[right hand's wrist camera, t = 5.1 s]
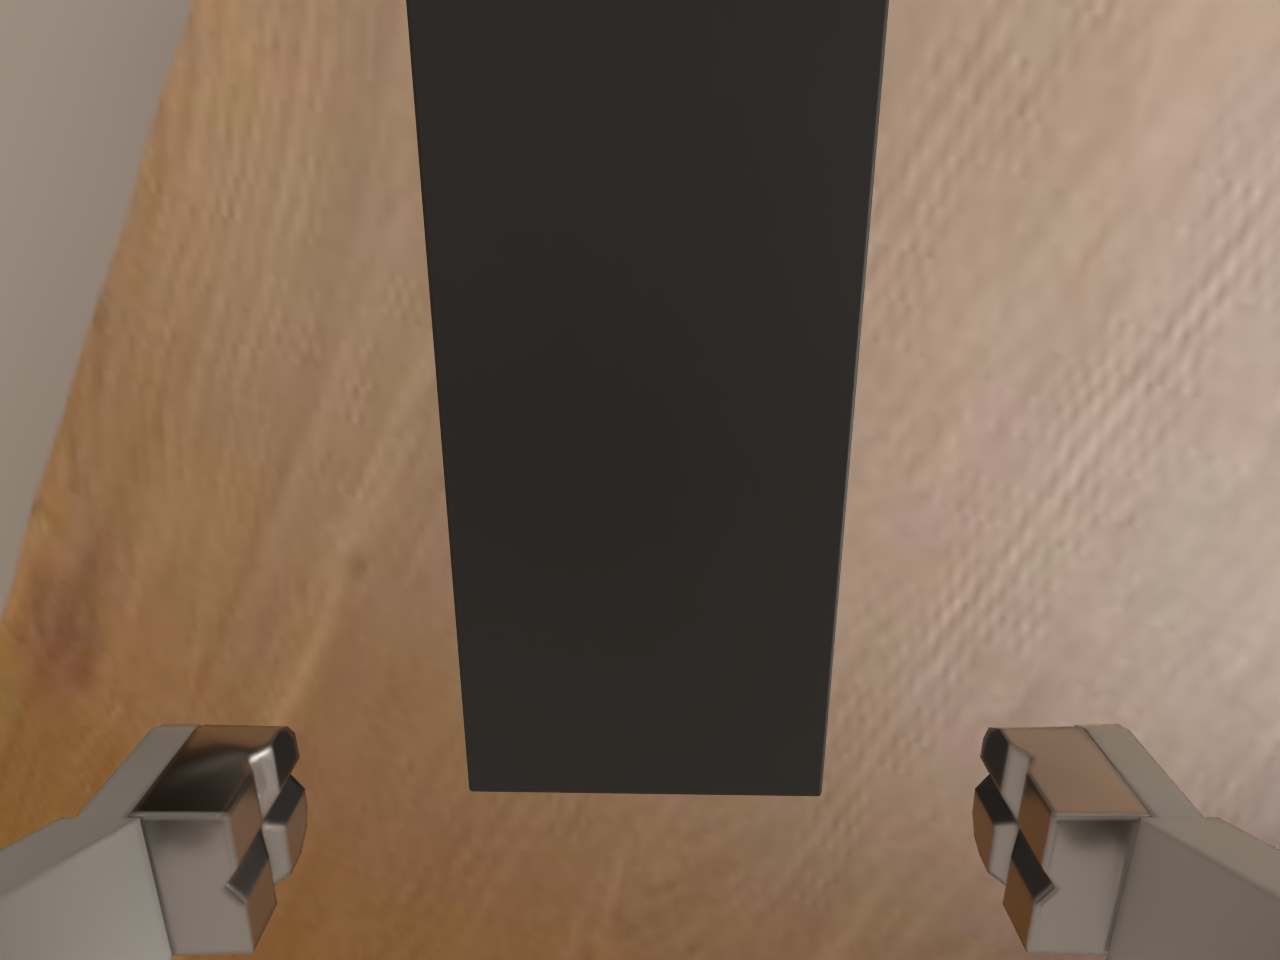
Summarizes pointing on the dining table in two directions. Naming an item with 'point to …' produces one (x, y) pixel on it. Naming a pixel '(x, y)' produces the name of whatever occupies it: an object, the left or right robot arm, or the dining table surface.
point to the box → (646, 376)
